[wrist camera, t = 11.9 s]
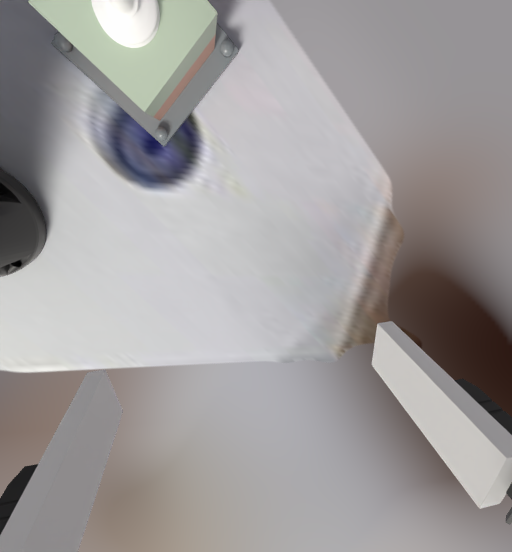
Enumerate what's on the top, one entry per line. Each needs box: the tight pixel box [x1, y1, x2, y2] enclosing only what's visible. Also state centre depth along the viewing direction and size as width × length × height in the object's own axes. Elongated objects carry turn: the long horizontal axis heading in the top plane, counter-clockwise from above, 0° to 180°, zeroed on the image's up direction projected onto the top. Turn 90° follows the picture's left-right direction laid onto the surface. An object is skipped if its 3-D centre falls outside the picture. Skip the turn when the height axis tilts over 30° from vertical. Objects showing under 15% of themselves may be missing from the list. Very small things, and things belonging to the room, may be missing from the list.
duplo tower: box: [28, 0, 239, 146], centre depth 26 cm, size 14×14×11 cm
